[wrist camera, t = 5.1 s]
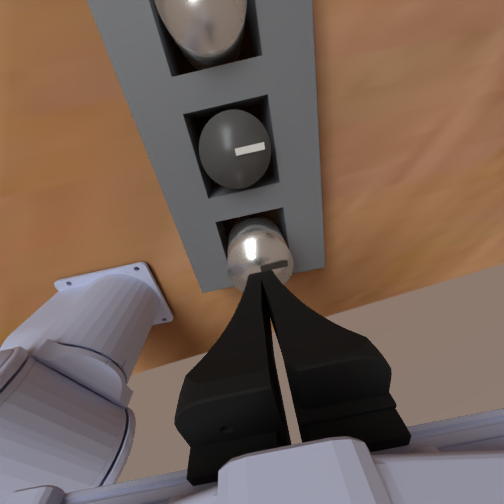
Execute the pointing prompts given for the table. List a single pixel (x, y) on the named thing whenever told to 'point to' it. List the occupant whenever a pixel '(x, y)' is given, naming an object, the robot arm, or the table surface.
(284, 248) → the knob
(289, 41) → the control panel
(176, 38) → the knob
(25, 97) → the table surface
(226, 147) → the knob middle
